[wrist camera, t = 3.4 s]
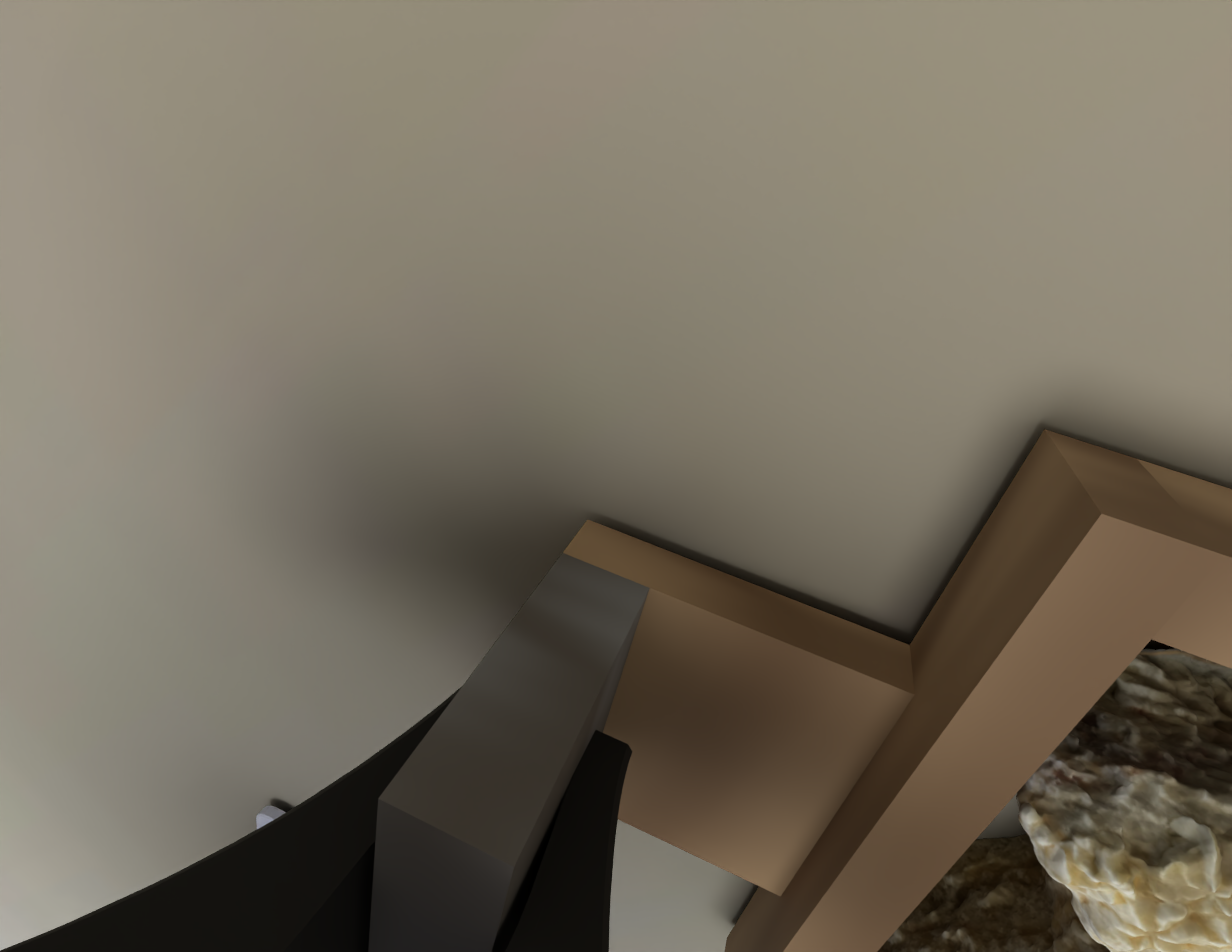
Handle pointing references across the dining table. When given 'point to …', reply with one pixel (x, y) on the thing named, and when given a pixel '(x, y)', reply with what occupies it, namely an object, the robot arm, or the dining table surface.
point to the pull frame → (799, 711)
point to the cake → (1108, 832)
